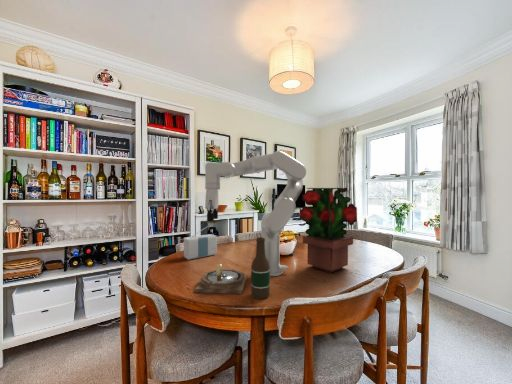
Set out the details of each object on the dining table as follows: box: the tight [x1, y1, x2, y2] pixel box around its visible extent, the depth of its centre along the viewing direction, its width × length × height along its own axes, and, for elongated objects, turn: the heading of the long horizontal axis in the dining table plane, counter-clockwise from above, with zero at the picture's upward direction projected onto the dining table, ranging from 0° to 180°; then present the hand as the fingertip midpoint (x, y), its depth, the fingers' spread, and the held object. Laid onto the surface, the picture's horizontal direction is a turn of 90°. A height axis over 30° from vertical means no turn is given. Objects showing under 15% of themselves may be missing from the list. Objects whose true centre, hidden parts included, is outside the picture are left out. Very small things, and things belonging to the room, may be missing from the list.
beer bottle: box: [250, 236, 271, 300], centre depth 101 cm, size 8×8×24 cm
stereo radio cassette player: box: [183, 225, 218, 261], centre depth 158 cm, size 21×8×20 cm, turn 130°
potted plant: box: [299, 187, 358, 274], centre depth 136 cm, size 22×22×45 cm
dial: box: [208, 263, 238, 283], centre depth 113 cm, size 14×14×9 cm
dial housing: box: [194, 268, 248, 295], centre depth 113 cm, size 20×20×4 cm
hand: (212, 219), depth 125 cm, fingers open, 9 cm apart
